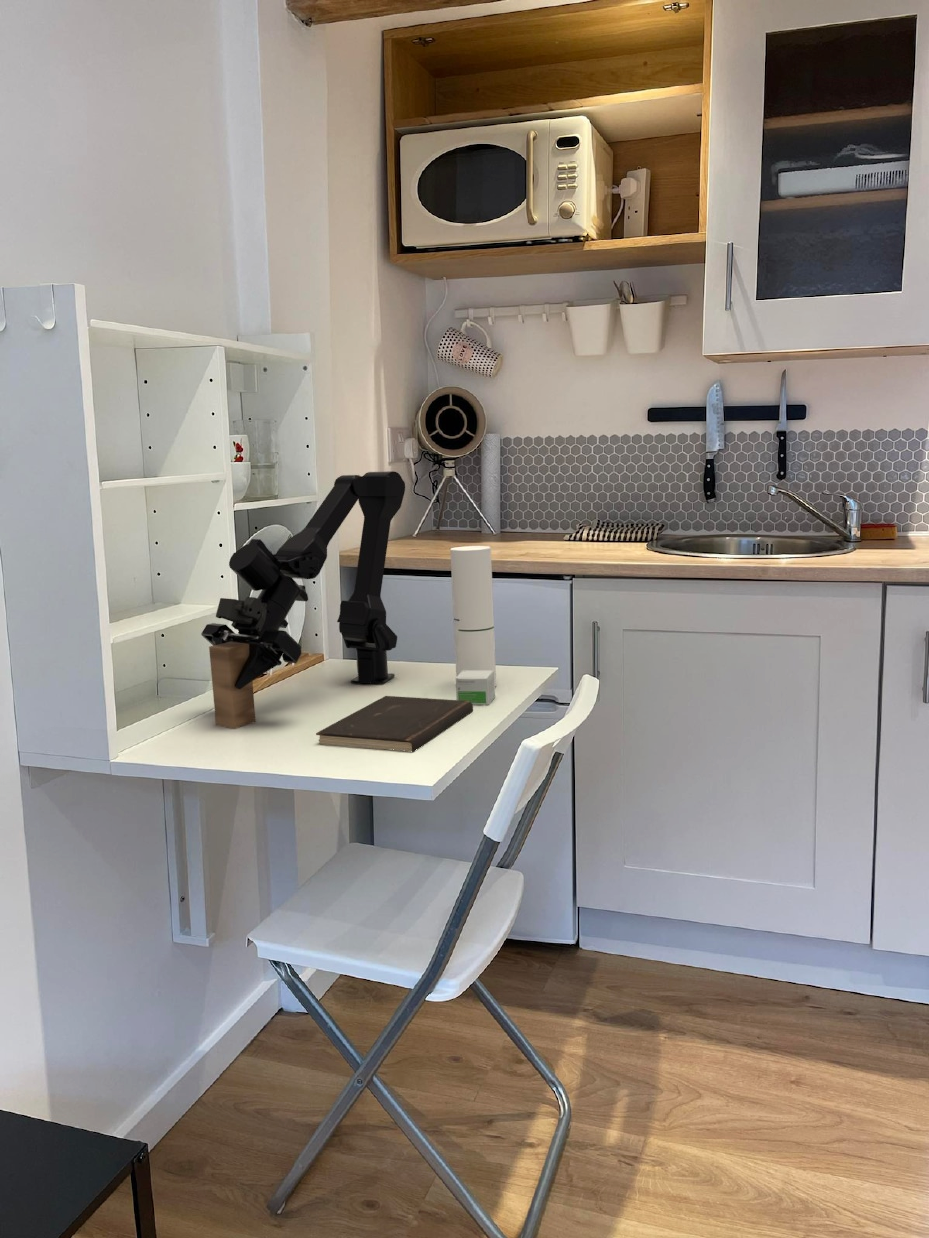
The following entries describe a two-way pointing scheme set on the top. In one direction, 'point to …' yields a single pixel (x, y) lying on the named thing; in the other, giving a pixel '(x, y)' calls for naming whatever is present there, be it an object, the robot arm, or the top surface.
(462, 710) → the hardcover book
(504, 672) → the top surface
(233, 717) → the walnut block
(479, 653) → the cylindrical container
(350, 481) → the robot arm
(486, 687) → the small box
